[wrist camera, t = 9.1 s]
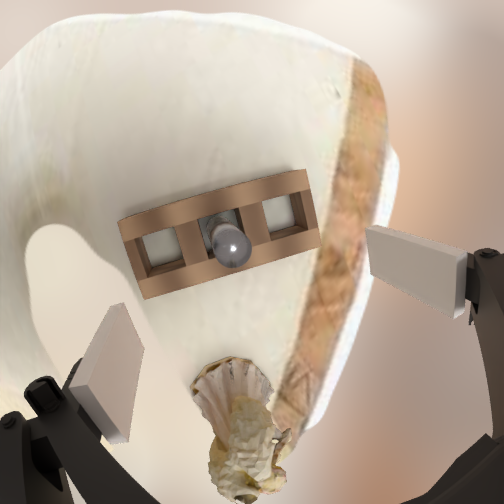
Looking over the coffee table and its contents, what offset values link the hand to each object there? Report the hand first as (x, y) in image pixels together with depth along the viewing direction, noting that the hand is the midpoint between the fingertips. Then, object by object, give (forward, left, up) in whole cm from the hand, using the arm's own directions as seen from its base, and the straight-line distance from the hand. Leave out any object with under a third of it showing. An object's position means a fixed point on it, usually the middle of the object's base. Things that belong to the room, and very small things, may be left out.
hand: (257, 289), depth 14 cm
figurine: (-5, -23, -22) cm, 32 cm away
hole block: (0, 0, -21) cm, 21 cm away
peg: (0, 0, -21) cm, 21 cm away
